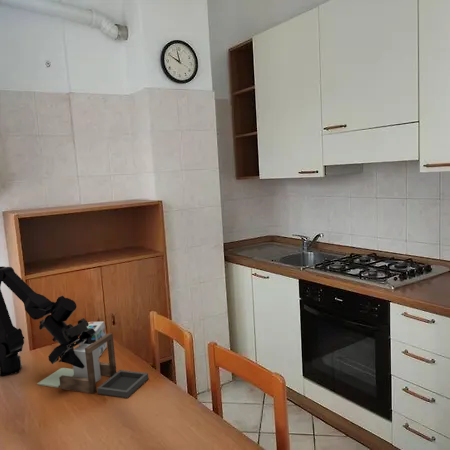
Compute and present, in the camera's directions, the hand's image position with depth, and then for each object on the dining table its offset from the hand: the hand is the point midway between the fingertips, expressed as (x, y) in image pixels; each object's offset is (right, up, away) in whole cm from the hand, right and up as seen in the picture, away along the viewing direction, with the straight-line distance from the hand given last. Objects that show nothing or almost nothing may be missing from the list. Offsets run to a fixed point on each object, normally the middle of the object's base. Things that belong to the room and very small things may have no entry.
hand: (89, 363), depth 151 cm
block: (-1, -7, +1) cm, 7 cm away
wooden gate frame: (-1, -7, +1) cm, 7 cm away
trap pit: (+12, -6, -3) cm, 14 cm away
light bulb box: (-6, -4, +26) cm, 27 cm away
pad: (-12, -7, +6) cm, 15 cm away
